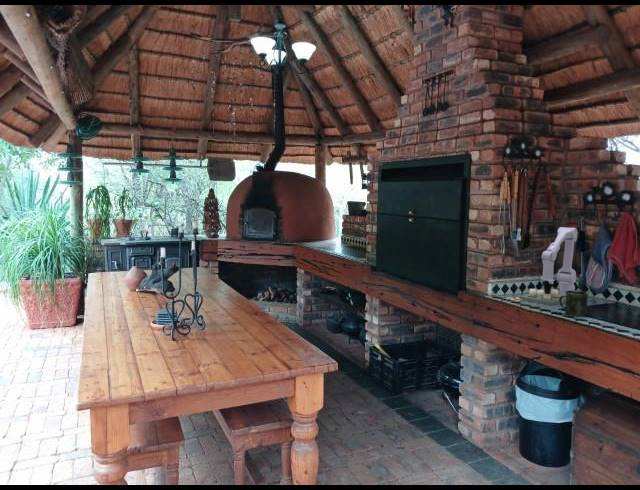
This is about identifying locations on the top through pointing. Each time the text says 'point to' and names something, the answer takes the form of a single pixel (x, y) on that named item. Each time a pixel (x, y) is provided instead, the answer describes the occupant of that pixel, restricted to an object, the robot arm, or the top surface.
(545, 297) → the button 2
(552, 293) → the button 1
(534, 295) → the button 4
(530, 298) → the grey-green board with holes
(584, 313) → the mug
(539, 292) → the beige cylinder
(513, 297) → the tile
